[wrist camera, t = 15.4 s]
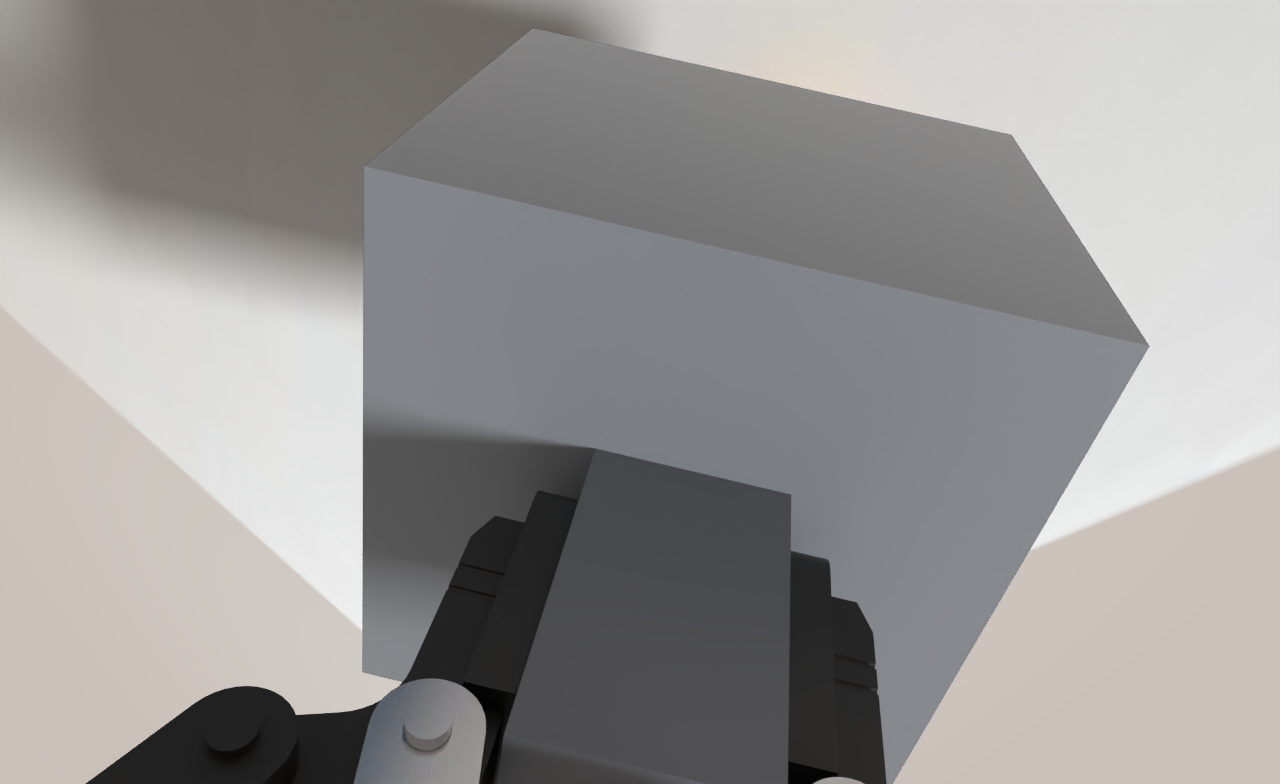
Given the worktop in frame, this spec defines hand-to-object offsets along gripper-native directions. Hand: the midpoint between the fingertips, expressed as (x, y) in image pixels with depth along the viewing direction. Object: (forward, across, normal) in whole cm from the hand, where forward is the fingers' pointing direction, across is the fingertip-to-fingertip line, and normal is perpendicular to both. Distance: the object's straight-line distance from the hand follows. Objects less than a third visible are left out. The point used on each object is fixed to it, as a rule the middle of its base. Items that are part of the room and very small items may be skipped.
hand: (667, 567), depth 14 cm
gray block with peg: (+10, 0, 0) cm, 10 cm away
